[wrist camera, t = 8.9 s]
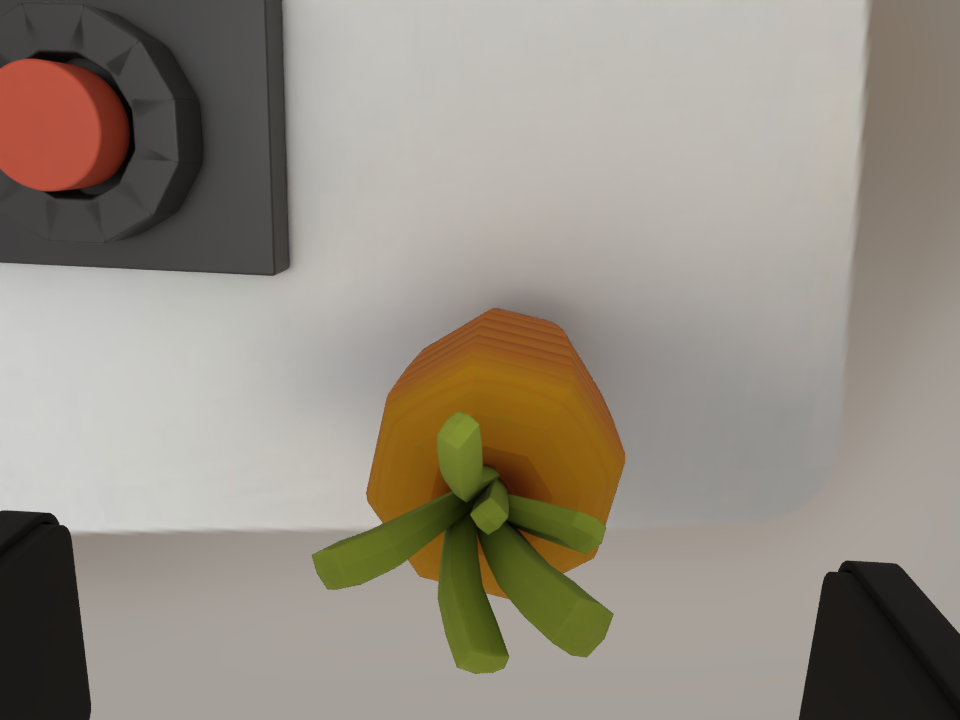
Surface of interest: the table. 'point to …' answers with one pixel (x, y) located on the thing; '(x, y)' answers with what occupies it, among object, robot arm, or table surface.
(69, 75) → the button
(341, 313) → the table surface
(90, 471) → the table surface
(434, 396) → the carrot
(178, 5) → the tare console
